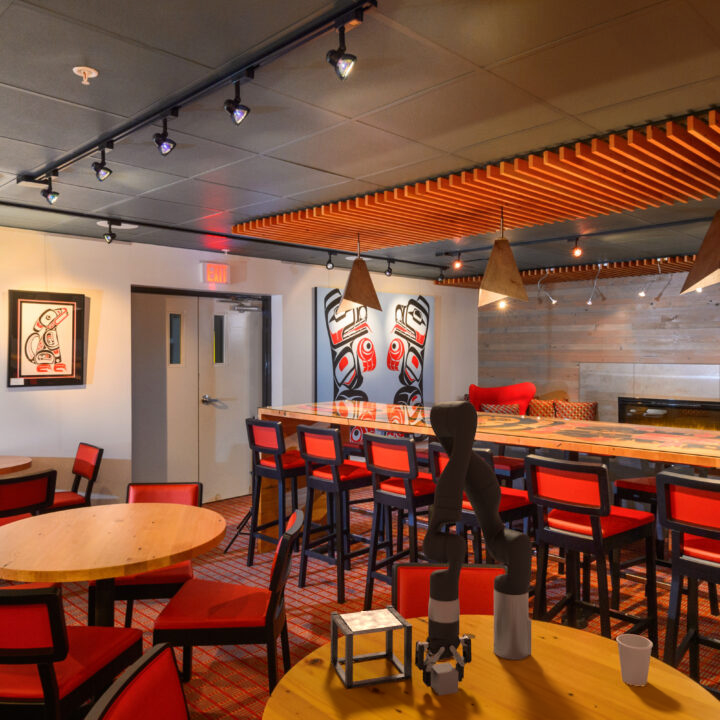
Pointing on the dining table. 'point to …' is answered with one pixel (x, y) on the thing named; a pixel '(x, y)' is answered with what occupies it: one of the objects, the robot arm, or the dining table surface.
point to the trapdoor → (371, 621)
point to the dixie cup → (634, 658)
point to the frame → (349, 658)
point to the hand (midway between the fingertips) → (443, 682)
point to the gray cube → (444, 679)
